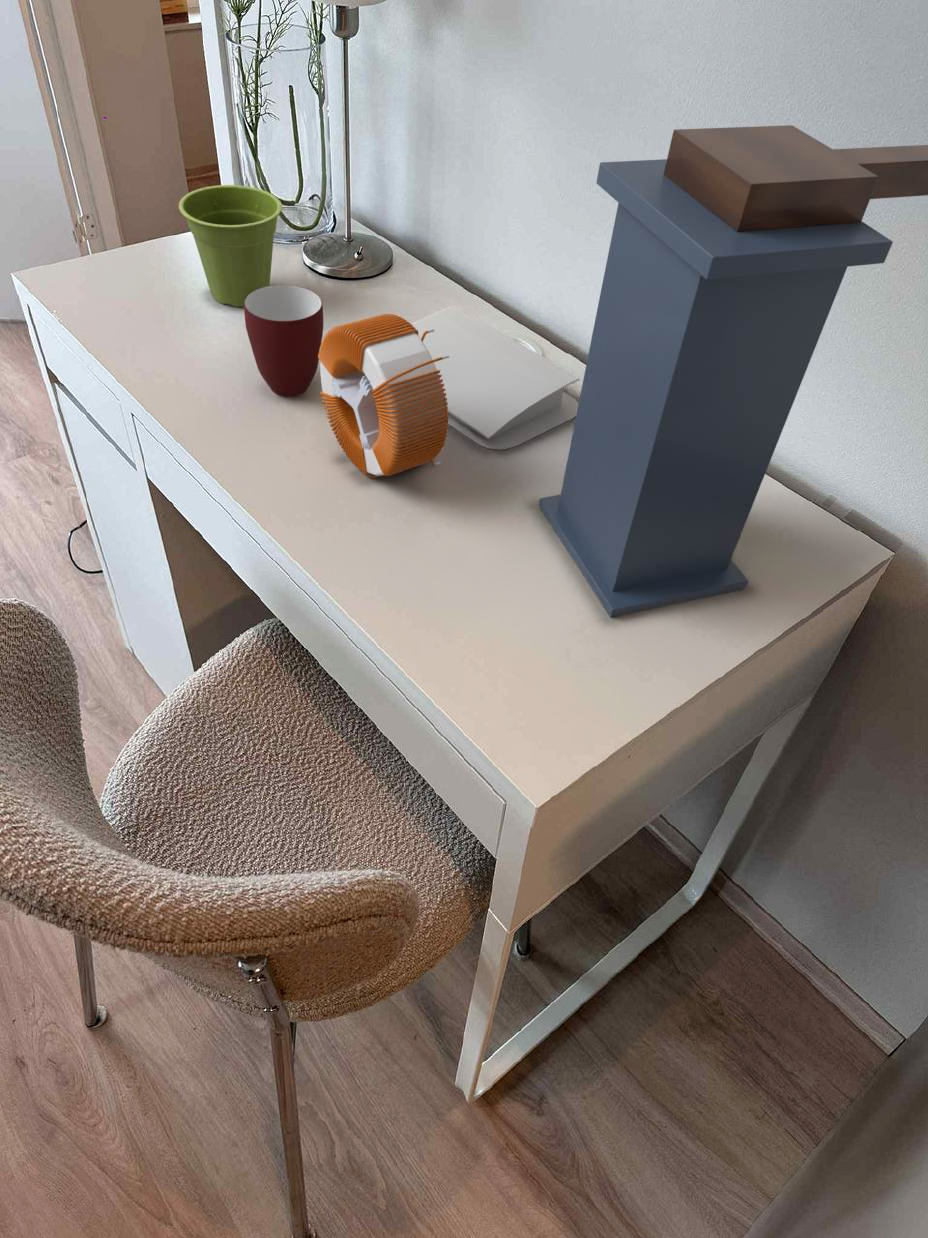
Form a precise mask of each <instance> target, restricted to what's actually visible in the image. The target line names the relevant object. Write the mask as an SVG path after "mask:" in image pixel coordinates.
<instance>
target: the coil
mask: <svg viewBox="0 0 928 1238" xmlns="http://www.w3.org/2000/svg"><path fill="white" fill-rule="evenodd" d="M411 324H412V323H411V322H410V321H408V320H407V319H405V318H404V317H402V316H399V315H396V314H394V313H383V314H379V315H375V316H372V317H371V316H370V317H367V318H363V319H360V320H356V321H352V322H347V323H345V324H341V325H337V326H335V327H332V328H331V329H330V330H328V331H327V332H326V333H325V335H324V337H322V342H321V346H320V349H319V354H318V358H319V362H320V365H319V366H320V367H319V368H320V369H319V372H320V373H319V374H320V384H321V391H320V395H321V396H320V398H321V399H322V400H321V402H322V403H323V405H322V406H323V407H324V411H325V415H328V416H327V418H326V419H328V423H329V426H330V427H331V431H333V435H335V436H334V437H335V439H336V440H337V442H338V444H339V446H340V448H341V449H342V451H343V452H344V454H345V455H346V457H347V458H348V459H349V461H350V462H351V463H352V464H353V465H354V466H355V467H356V469H358V470H359V471H360V472H361V473H363V474H364V475H365V476H366V477H368V478H380V477H381V478H382V477H385V476H386V477H390V476H393V475H396V474H398V473H401V472H404V471H408V470H410V469H412V468H415V467H419V466H421V465H423V464H426V463H430V464H431V466H432V467H435V466H438V465H441V464H442V462H441V461H437V462H434V460H435V459H436V458H437V457H438V456H439V455H440V453H441V452H442V450H443V448H444V446H445V444H446V440H447V437H448V430H449V424H448V422H449V420H448V418H449V416H448V413H449V412H448V406H447V405H448V402H446V400H447V398H446V397H445V396H446V393H443V392H444V391H445V390H446V389H445V388H442V387H444V384H441V382H443V379H440V377H442V375H438V373H440V370H437V369H436V366H435V364H434V362H436V361H439V360H442V359H446V358H449V355H446V356H443V357H439V358H436V359H433V360H432V358H431V356H430V353H429V351H428V350H427V348H426V346H425V345H424V343H423V340H424V338H425V335H426V334H427V333H430V332H434V329H430V330H427V331H425V332H424V333H423V335H422V338H421V339H420V337H419V336H418V330H416V328H415V327H413V325H411Z"/></svg>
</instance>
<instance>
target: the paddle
mask: <svg viewBox="0 0 928 1238" xmlns="http://www.w3.org/2000/svg"><path fill="white" fill-rule="evenodd" d="M666 159H667V161H666V166H665V170H664V175H665V176H666V177H667V178H669V179H670V180H671V181H673V182H674V183H675V184H676V185H678V186H679V187H680V188H682V189H683V190H684V191H685V192H687V193H688V194H689V195H691V196H692V197H693V198H694V199H696V200H697V201H698V202H700V203H701V204H702V205H703V206H705V207H706V208H707V209H708V210H710V211H711V212H712V213H714V214H715V215H716V216H717V217H719V218H720V219H721V220H723V221H724V222H725V223H726V224H728V225H729V226H730V227H732V228H733V229H734V230H735V231H737V232H742V231H755V230H768V229H781V228H795V227H808V226H821V225H834V224H847V223H860V222H861V221H862V222H863V219H864V216H865V213H866V211H867V209H868V206H869V203H870V201H871V200H881V199H894V198H911V197H924V196H928V144H918V145H917V144H916V145H915V144H914V145H896V146H895V145H894V146H875V147H873V146H871V147H854V148H831V147H830V146H828V145H827V144H825V143H823V142H821V141H820V140H818V139H816V138H814V137H813V136H811V135H809V134H808V133H806V132H804V131H803V130H801V129H799V128H798V127H796V126H794V125H792V124H791V125H787V124H786V125H766V126H765V125H762V126H736V127H735V126H734V127H709V128H708V127H707V128H706V127H705V128H682V129H681V128H680V129H679V128H678V129H677V128H676V129H673V131H672V136H671V140H670V145H669V149H668V153H667V157H666Z"/></svg>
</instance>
